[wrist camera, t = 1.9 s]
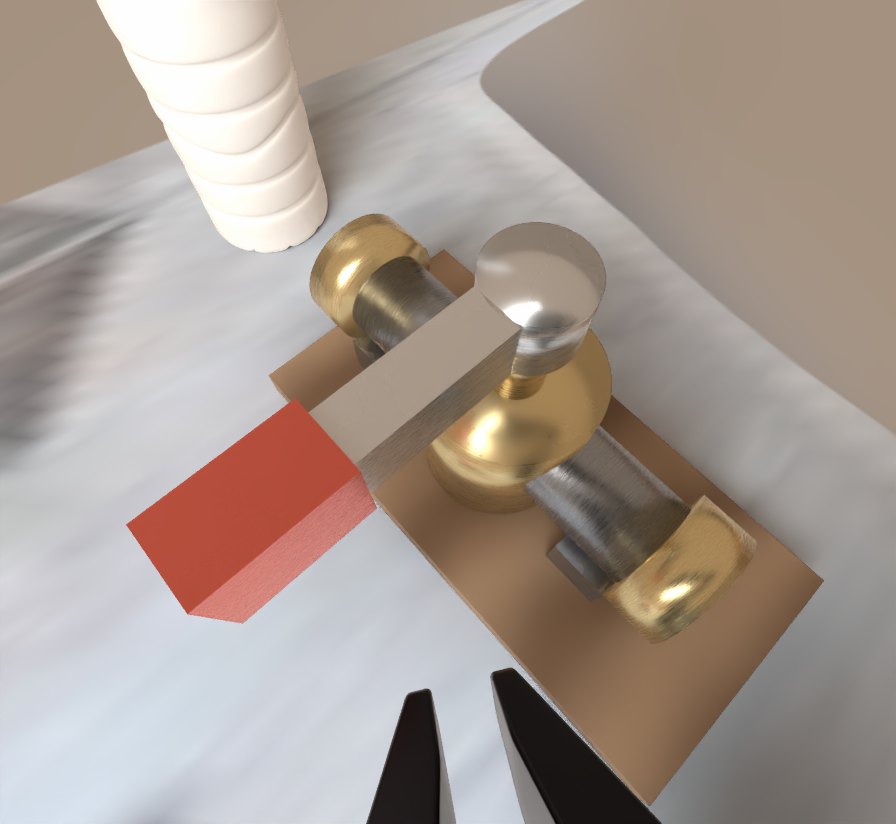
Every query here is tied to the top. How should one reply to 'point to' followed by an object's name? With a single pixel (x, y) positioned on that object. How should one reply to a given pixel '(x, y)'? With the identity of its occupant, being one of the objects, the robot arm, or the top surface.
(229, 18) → the water bottle
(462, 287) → the valve board
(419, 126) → the top surface
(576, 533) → the valve body
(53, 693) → the top surface
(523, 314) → the valve lever
